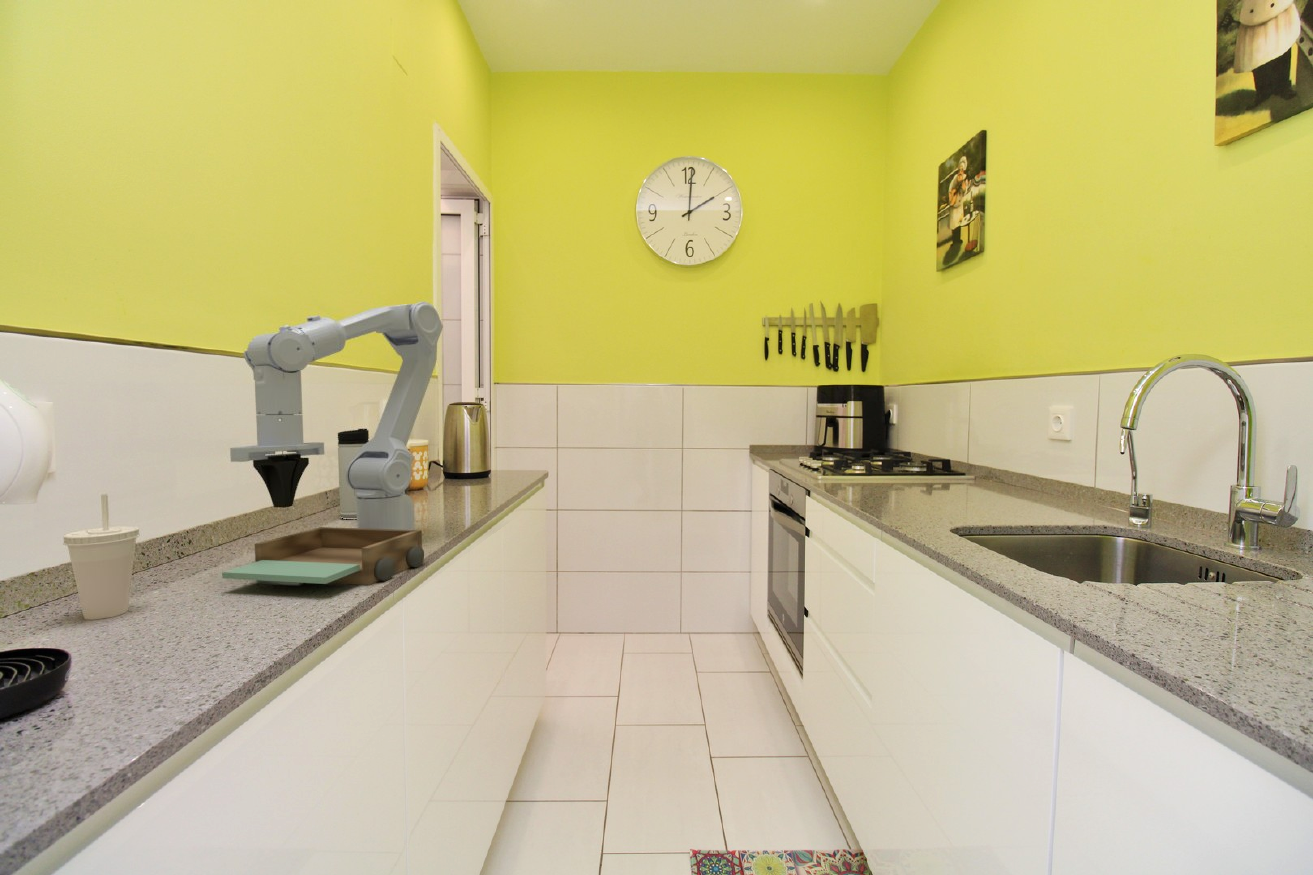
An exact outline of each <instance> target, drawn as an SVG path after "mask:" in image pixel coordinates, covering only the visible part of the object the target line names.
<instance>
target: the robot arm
mask: <svg viewBox="0 0 1313 875" xmlns="http://www.w3.org/2000/svg"><path fill="white" fill-rule="evenodd" d="M306 321H307V322H304V323H303V322H302V323H300V324H299V323H298V324H297V325H294V326H291V325H289V324H286V325H282V326H279V327H278V329H279V331H278V332H272V333H271V332H270V333H262V334H259V335H256V336H255V337H253V338H251V341H249V342H248V345H247V348H246V349H247V350H244V351H243V357H244V360H245V362H246V363H247V365H248V367H250V369H251V370H252V373H253V374H252V375H253V380H254V392H255V393H254V396H255V399H254V400H255V418H256V420H255V421H256V440H257V442H256V444H257V445H248V446H237V447H230V448H229V450H230V462H231V463H233V462H234V463H235V462H236V463H238V462H239V463H243V462H244V463H246V462H250V461H252V465H253V466H252V467H253V468H254V469H255V470H256V471H257V473H258V474H259V476H260V477H261V479H262V481H263V482H264V485H265V487H266V488H267V492H268V494H269V496H270V499H271V501H272V502H271V503H272V505H273V508H280V509H281V508H290V507H293V504H294V501H295V496H296V493H297V489H298V486H299V483H300V480H301V478H302V476H303V474H304V472H305V470H306V469H307V467H308V466H309V464H310V459H309V458H310V457H306V456H319V455H320V456H322V455H325V442H323V441H322V442H318V441H317V442H304V422H303V419H304V418H303V415H304V414H303V398H302V397H303V396H302V392H303V391H302V371H303V370H305V368H306V367H307V366H308V365H309V364H310V363H312V362H315V361H317V360H321V359H323V358H326V357H329V356H331V355H335V354H337V353H340V352H341V351H343V350H344V348H345V346H346V342H347V341H349V340H351V339H355V338H360V337H361V336H366V335H368V334H371V333H374V332H375V333H377V334H381V335H383V337H384V338H385V339H386V341H387V342H388V343H389V345H390V346H391V348H392V349H393V350H394V351H395V352H396V354H397V355H398V356H399V357H401V361H402V362H401V365H400V368H399V370H398V373H397V375H396V377H395V379H394V380H395V381H394V383H393V386H392V389H391V391H390V394H389V396H388V399H387V402H386V404H385V406H384V409H383V411H382V414H381V417H380V419H379V423H378V424H377V427H376V430H375V433H374V434H373V435H374V436H373V437H372V438H371V439H370V440H369V441H368V442H367V443H366V444H364V445H363V446H362V447H361V448H360V449H359V452H358V454H357V456H356V457H355V458H354V459H353V460H352V461H351V462H350V463H349V465H348V466H347V469H346V481H347V484H348V485H349V487H350V488H351V489H353V490H354V496H356V505H357V520H356V528H362V529H394V530H416V528H415V527H416V526H415V522H416V521H415V505H414V501H413V500H412V499H411V497H410V496H409V495H408V494H406V492H405V491H406V489H407V488H409V486H410V483H411V481H412V466H413V465H412V464H413V461H414V458H415V457H414V456H413V454H412V452H411V451H409V449H408V448H407V445H408V442H409V440H410V437H411V433H412V431H413V428H414V426H415V423H416V420H417V417H418V414H419V412H420V409H421V406H422V403H423V400H424V398H425V396H426V395H425V394H426V392H427V389H428V387H429V383H430V381H431V378H432V376H433V372H434V369H435V367H436V365H437V364H436V363H437V357H438V356H437V355H438V354H437V353H438V342H439V339H440V336H441V333H442V330H443V328H444V325H443V323H442V321H441V319H440V315H439V313H438V311H437V309H436V308H435V307H434V305H432V304H431V303H430V302H427V301H420V302H417V303H407V304H405V303H404V304H395V305H387V306H379V307H373V308H369V309H367V310H365V311H362V312H359V313H356V314H355V315H351V316H348V317H346V318H343V319H340V320H338V321H335V320H334V319H332V318H330V317H326V316H323V317H321V316H320V315H317V314H316V315H312V316H308V317H306ZM276 452H287V453H279V454H276Z"/></svg>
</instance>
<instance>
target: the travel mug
mask: <svg viewBox="0 0 1313 875" xmlns="http://www.w3.org/2000/svg"><path fill="white" fill-rule="evenodd" d="M369 439H370V436H369V429H368V428H357V429H352V430H344V431H340V432H337V441H338V442H337V457H338V458H337V459H338V460H337V461H338V465H337V466H338V486H339V488H338V493H339V494H338V495H339V511H340V512H339V517H340V516H341V517H343V518H357V505H356V496H354V490H353V489H351V488H350V487H349V485H348V484H347V481H346V469H347V466H348V465H349V463H350V462H351V461H352V460H353V459H354V458H355V457H356V456H357V454H358V452H359V449H360V448H361V447H362V446H363V445H364V444H366V443H367V442H368V441H370V440H369Z"/></svg>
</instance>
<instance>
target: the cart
mask: <svg viewBox="0 0 1313 875" xmlns="http://www.w3.org/2000/svg"><path fill="white" fill-rule="evenodd" d="M422 531H423V530H422V529H421V530H420V529H415V530H394V529H362V528H357V527H355V528H354V527H324V526H319V527H316V528H312V529H308V530H305V531H300V532H296V533H293V534H287V535H285V536H284V535H283V536H280V537H276V538H273V539H268V540H264V541H260V542H256V543H254V562H257V561H261V560H273V561H295V562H317V563H339V564H360V570H359V571H357V572H354V573H352V574H349V575H347V576H344V577H342V578H339V579H337V580H334V581H332V582H329V583H328V584H335V585H336V584H337V585H338V584H340V585H355V586H356V585H357V586H358V585H361V586H371V585H373V584H375V583H378V582H380V581H384V582H385V581H387V582H388V581H389V580H391V579H392V577H393V576H394V575H397V574H399V573H401V572H403V571H406V570H408V569H411V568H420V567H421V566H422V565H423V562H424V560H425V550H424V549H423V537H422V536H423V533H422Z"/></svg>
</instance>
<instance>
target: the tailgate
mask: <svg viewBox="0 0 1313 875" xmlns="http://www.w3.org/2000/svg"><path fill="white" fill-rule="evenodd" d="M359 570H360V564H339V563H317V562H295V561H273V560H261V561H257V562H255V561H254V562H251V563H248V564H245V565H242V566H238V567H234V568H232V569H228V570H225V571H222V572H221V574H222V576H221V577H222V579H224V580H225V579H227V580H228V579H230V580H247V581H248V580H249V581H257V583H258V584H261V585H262V584H263V585H276V586H278V585H280V586H294V587H295V586H297V587H301V586H302V585H303V584H304V583H305V584H321V585H322V584H323V585H326V584H330V583H329V582H332V581H334V580H337V579H339V578H342V577H344V576H347V575H349V574H352V573H354V572H357V571H359Z"/></svg>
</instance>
